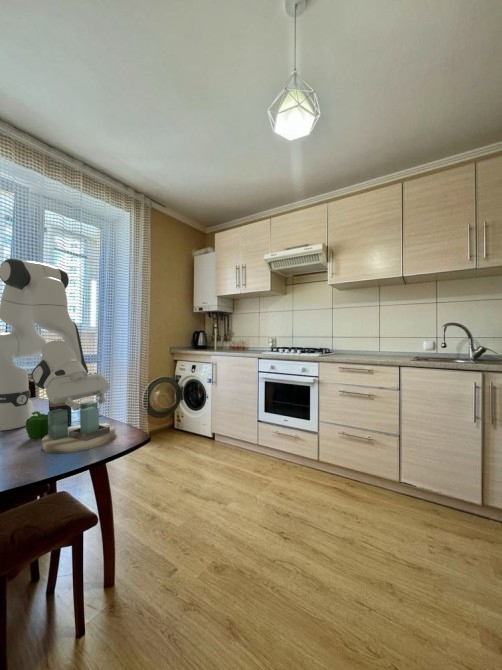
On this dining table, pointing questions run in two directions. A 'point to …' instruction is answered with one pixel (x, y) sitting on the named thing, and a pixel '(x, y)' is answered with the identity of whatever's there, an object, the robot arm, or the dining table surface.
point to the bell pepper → (37, 426)
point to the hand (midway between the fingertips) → (90, 405)
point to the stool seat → (73, 433)
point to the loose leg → (89, 420)
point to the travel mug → (61, 406)
